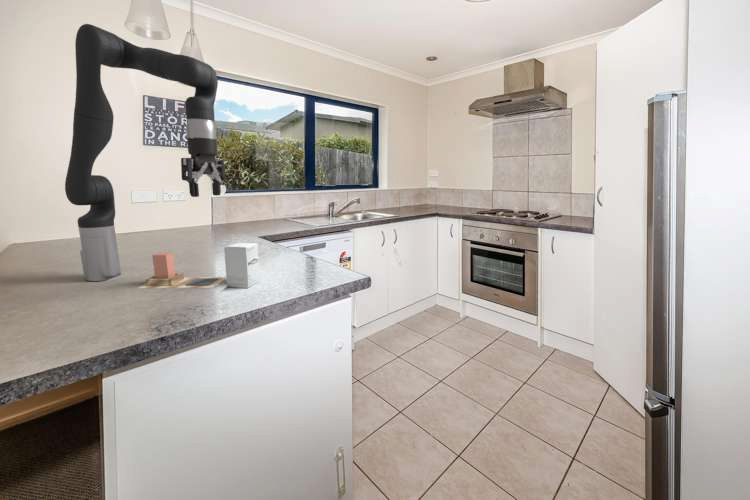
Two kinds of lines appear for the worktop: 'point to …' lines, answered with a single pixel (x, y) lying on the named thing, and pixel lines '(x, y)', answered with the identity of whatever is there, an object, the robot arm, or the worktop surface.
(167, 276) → the block
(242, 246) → the supplement box
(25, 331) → the worktop surface
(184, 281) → the board
